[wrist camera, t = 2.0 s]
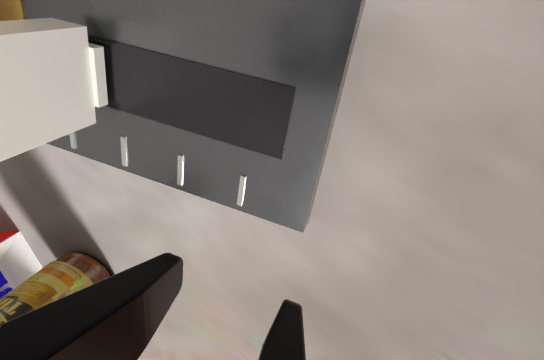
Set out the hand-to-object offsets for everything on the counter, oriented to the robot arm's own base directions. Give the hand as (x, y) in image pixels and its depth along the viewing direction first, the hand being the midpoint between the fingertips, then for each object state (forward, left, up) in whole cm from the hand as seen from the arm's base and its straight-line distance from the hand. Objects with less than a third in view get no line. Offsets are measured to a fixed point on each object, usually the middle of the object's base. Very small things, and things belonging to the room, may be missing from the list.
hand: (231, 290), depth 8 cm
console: (+11, -4, -12) cm, 17 cm away
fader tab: (+13, -5, -10) cm, 17 cm away
